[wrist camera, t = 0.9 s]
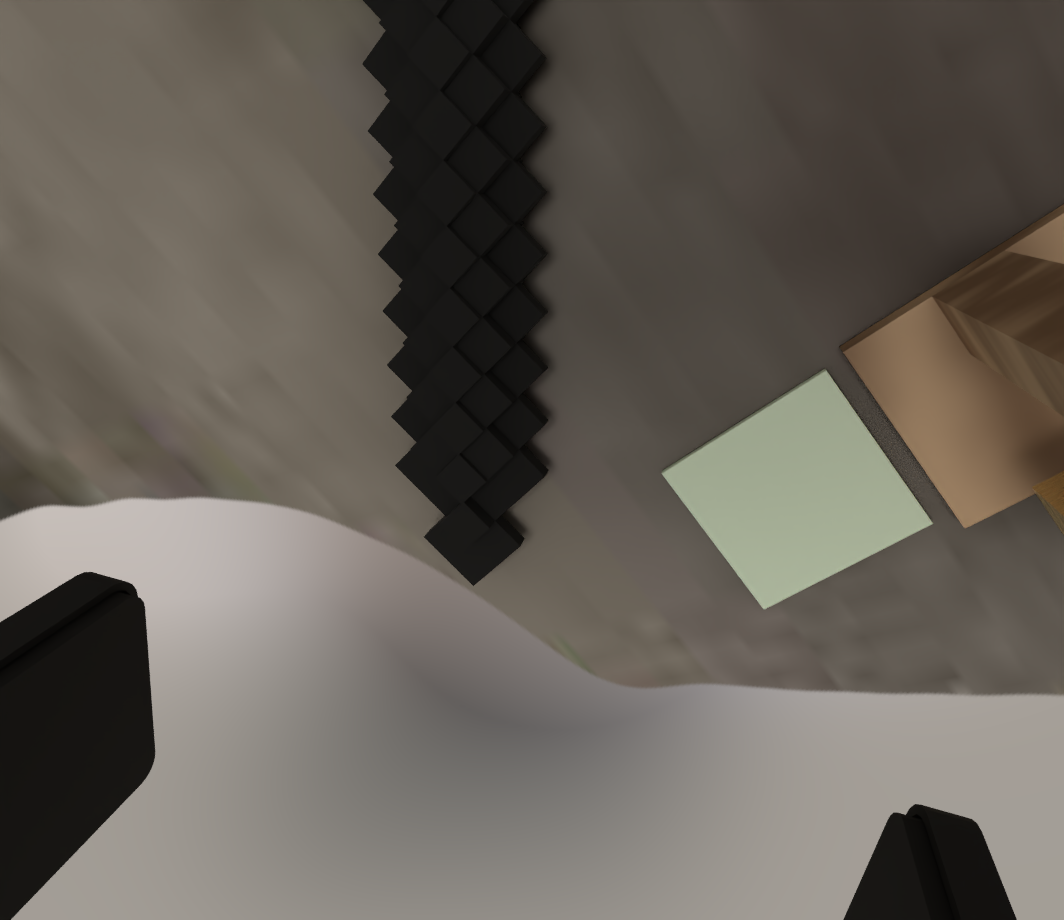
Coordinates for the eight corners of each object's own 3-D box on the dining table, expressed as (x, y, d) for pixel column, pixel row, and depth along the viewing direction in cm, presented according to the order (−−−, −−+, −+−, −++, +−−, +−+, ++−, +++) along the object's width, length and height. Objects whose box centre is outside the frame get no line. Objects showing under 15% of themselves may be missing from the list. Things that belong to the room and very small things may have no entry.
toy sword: (589, -488, 26) (568, -590, 23) (579, 531, 40) (565, 564, 36) (316, -427, 29) (259, -512, 25) (396, 514, 42) (366, 543, 39)
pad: (825, 368, 34) (826, 370, 33) (930, 520, 35) (933, 523, 35) (662, 470, 37) (661, 473, 37) (763, 605, 39) (763, 609, 38)
